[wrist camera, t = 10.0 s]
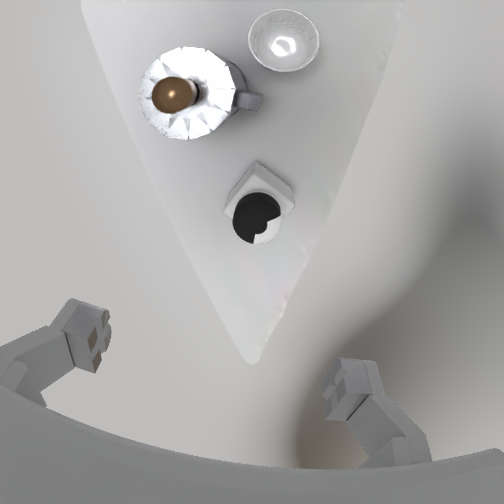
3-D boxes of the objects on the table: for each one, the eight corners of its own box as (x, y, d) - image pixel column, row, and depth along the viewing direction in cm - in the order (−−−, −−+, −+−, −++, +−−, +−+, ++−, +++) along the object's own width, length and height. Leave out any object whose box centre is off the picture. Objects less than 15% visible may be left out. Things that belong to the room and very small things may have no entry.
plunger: (191, 63, 37) (139, 53, 21) (240, 70, 37) (218, 61, 21) (182, 109, 40) (127, 129, 24) (229, 117, 41) (202, 140, 25)
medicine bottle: (227, 195, 49) (215, 229, 39) (255, 160, 46) (251, 185, 36) (264, 221, 51) (262, 260, 41) (292, 188, 48) (299, 221, 37)
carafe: (187, 54, 38) (147, 42, 24) (269, 67, 39) (269, 58, 25) (175, 115, 43) (132, 133, 29) (254, 130, 44) (247, 153, 30)
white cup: (240, 46, 37) (232, 36, 29) (283, 14, 34) (286, -4, 26) (278, 85, 40) (280, 85, 31) (320, 53, 37) (334, 45, 29)
